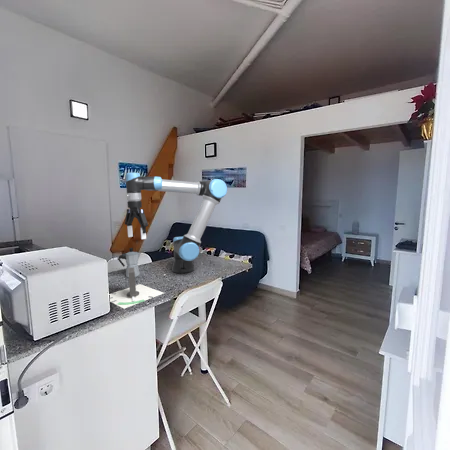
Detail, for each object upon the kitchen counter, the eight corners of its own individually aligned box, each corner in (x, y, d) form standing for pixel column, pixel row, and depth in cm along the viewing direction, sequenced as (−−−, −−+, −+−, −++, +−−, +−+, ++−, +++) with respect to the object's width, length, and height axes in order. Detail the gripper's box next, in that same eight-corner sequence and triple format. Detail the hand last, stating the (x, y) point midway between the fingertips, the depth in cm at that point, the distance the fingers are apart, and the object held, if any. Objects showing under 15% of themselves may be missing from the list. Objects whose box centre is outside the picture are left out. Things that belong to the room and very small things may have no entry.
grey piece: (126, 292, 130) (124, 268, 129) (138, 290, 133) (137, 267, 131) (126, 302, 118) (124, 276, 116) (140, 300, 120) (138, 274, 118)
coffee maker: (139, 272, 170) (138, 245, 167) (145, 274, 163) (143, 247, 161) (116, 277, 160) (114, 249, 158) (121, 280, 153) (119, 251, 151)
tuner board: (140, 286, 143) (140, 283, 143) (165, 295, 129) (164, 292, 129) (100, 299, 126) (100, 296, 126) (124, 311, 112) (124, 308, 112)
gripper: (116, 200, 147) (119, 236, 150) (141, 200, 132) (143, 241, 134) (128, 200, 153) (131, 235, 156) (153, 200, 138) (155, 238, 140)
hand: (136, 237), depth 145 cm, fingers open, 13 cm apart
